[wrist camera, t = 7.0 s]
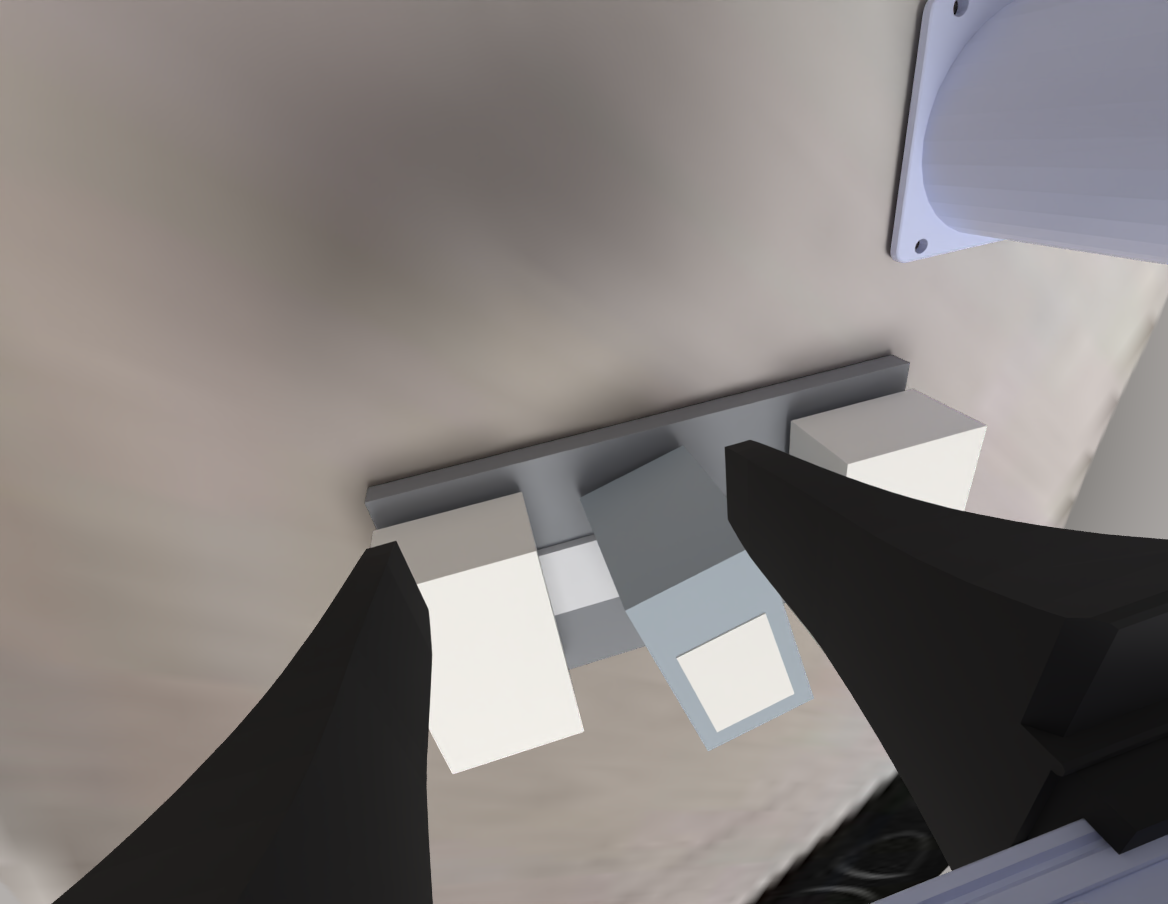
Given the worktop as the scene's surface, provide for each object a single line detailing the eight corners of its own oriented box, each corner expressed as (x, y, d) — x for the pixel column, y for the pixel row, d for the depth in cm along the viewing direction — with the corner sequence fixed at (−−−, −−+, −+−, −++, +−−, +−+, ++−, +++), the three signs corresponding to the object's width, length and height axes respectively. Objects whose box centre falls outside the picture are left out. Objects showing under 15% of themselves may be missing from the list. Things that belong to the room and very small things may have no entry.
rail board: (892, 354, 23) (994, 400, 18) (860, 563, 29) (931, 632, 25) (367, 487, 20) (348, 575, 16) (456, 686, 26) (459, 787, 22)
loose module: (683, 445, 21) (763, 542, 16) (738, 588, 25) (814, 699, 20) (579, 497, 21) (625, 611, 16) (654, 631, 25) (708, 752, 20)
